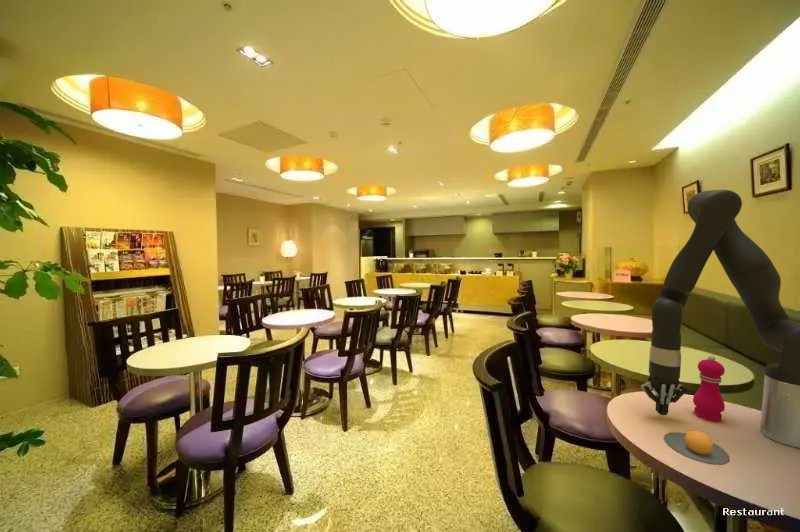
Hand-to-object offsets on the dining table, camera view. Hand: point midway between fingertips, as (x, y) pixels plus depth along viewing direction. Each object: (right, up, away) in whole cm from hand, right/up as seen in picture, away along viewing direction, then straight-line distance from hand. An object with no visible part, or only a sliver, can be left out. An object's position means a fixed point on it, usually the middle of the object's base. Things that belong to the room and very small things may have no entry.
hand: (661, 413), depth 99 cm
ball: (-3, 0, -16) cm, 16 cm away
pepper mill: (+15, -1, +1) cm, 15 cm away
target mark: (-2, -3, -14) cm, 14 cm away
